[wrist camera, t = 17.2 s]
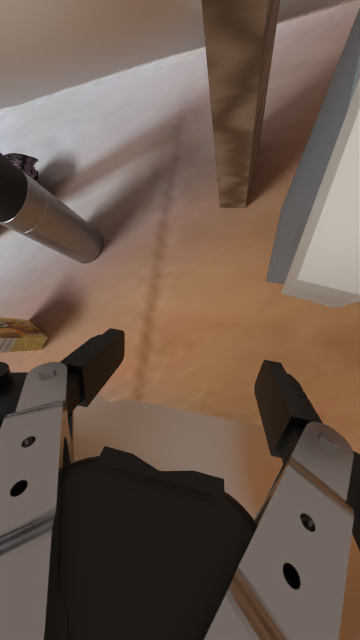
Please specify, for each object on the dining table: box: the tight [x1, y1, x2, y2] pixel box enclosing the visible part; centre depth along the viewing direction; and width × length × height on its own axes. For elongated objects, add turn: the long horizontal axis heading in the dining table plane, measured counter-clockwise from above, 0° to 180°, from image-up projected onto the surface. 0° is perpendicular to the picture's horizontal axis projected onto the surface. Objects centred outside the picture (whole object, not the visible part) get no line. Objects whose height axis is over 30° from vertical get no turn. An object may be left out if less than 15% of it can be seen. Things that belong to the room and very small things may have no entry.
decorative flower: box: [4, 153, 38, 180], centre depth 48 cm, size 15×12×15 cm
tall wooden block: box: [202, 0, 280, 208], centre depth 22 cm, size 5×14×32 cm, turn 167°
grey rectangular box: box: [266, 9, 360, 284], centre depth 22 cm, size 5×14×24 cm, turn 167°
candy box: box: [0, 318, 48, 352], centre depth 41 cm, size 9×4×15 cm, turn 58°
